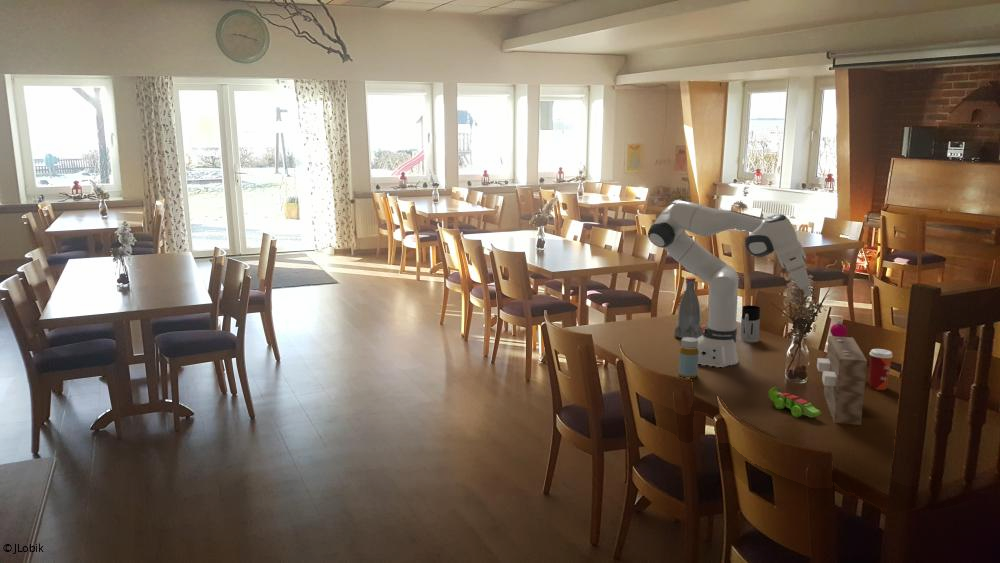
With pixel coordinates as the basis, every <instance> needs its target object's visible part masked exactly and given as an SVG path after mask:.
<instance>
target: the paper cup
mask: <svg viewBox="0 0 1000 563" xmlns="http://www.w3.org/2000/svg"><path fill="white" fill-rule="evenodd" d="M892 358H893V352H892V351H891V350H888V349H884V348H883V349H882V348H873V349H871V350H870V352H869V380H868V381H869V386H868V387H869V388H870V389H873V390H876V391H885V390H887V386H888V382H889V375H890V369H891V363H892Z"/></svg>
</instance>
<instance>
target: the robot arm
mask: <svg viewBox="0 0 1000 563" xmlns="http://www.w3.org/2000/svg"><path fill="white" fill-rule="evenodd" d="M729 230H741V231H744V232H749V235H747V237H746V238H745V242H744V244H745V245H744V246H745V249H746V250H747V251H748V254H750V255H752V256H753V257H755V258H764V257H765V256H768V255H771V254H772V253H775V254H776V257H777V259H778V262H779V263H780V265H781V267H783V269H785V270H786V271H787V272H789V274H790V275H791V277H792V279H793V281H794V282H795V284H796V286H797V287H798V288H799V290H803V292H804V294H805V296H806V297H807V298H809V297H811V296H812V292H811V290H810V287H811V282H810V279H809V275H808V272H807V269H806V268H807V267H806V259H807V255H806V253H805V249H804V248H803V246H802V244H801V242H800V241H799V240H798V236H797V235H798V234H797V232H796V230H795V228H794V226H793V224H792V222H791V221H790V219H789V218H788V217H787V216H786V215H785V214H781V213H780V214H773V215H770V216H768V217H760V216H757V215H752V214H749V213H743V212H739V211H736V210H735V211H734V210H728V209H719V208H713V207H709V206H705V205H703V204H699V203H696V202H691V201H685V200H683V199H675V200H673V201H672V202H670V203H669V204H668V206H666V208H664V209H663V210H662V212H660V214H659V215H658V217H657V218H656V219H655V221H654V222H653V223H652V224H651V226H650V227H649V229H648V231H647V237H648V239H649V241H650V242H651V243H652V244H653V245H654V246H655V247H657V248H662V249H664V250H665V252H667V253H668V254H669V256H670V257H671V258H673V259H674V261H675V262H677V263H678V264H680V265H681V266H682V267H683V268H684V269H685V270H687V271H688V272H689V273H690V274H692V275H694V276H696V277H698V278H700V279H701V280H703V281H704V282H706V283H707V284H708V315H707V316H708V317H707V318H708V320H707V325H705V324H703V325H702V326H701V328H702V330H703V331H702V336H700V337H698V338H697V339H698V345H697V346H698V347H697V348H698V364H701V365H700V366H705V365H709V366H708V367H712V366H715V367H714V368H719V367H722V368H725V367H729V365H730V366H734V365H737V364H738V363H739V359H738V354H737V347H736V344H737V343H736V342H737V339H738V329H737V316H738V314H737V313H738V293H739V291H738V290H739V274H738V272H737V270H736V269H734V268H733V267H732V266H731V265H729V264H727V263H726V262H725V261H723V260H722V259H721V258H719V257H717V256H715V255H714V254H712V253H711V252H710V251H708V250H707V249H706V248H705V247H704V246H702V244H700V243H699V242H698V241H696V240H695V239H693V238H692V237H691V236H690V235H688V234H687V232H689V233H692V234H695V235H697V236H702V237H712V236H714V235H715V236H716V235H717V234H719V233H721V232H724V231H729ZM686 231H687V232H686Z"/></svg>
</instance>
